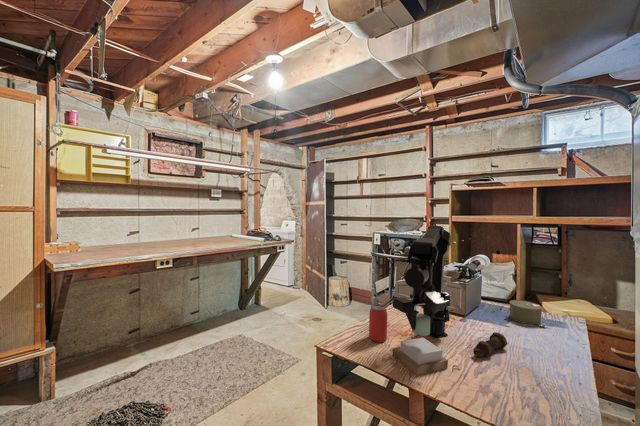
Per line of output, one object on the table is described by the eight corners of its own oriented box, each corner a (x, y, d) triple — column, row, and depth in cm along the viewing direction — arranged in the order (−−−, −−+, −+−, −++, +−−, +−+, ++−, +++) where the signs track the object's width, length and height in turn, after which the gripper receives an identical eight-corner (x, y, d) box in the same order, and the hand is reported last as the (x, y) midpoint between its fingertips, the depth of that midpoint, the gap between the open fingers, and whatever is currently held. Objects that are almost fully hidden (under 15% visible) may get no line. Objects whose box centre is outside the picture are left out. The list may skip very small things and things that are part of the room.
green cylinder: (421, 327, 97) (422, 312, 97) (433, 334, 92) (434, 318, 92) (408, 329, 95) (408, 314, 95) (419, 336, 90) (420, 320, 90)
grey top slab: (422, 346, 100) (423, 337, 99) (441, 359, 91) (442, 350, 91) (400, 350, 97) (400, 341, 96) (418, 364, 88) (418, 354, 88)
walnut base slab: (421, 351, 102) (421, 342, 102) (447, 369, 91) (447, 360, 91) (392, 357, 98) (392, 348, 98) (416, 377, 87) (416, 367, 86)
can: (504, 313, 139) (505, 298, 138) (532, 315, 136) (533, 301, 136) (516, 323, 127) (516, 307, 127) (547, 326, 124) (548, 310, 124)
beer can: (386, 343, 106) (387, 311, 105) (368, 341, 107) (369, 309, 106) (386, 335, 112) (387, 305, 112) (369, 333, 113) (369, 303, 113)
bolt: (474, 362, 98) (496, 349, 106) (488, 361, 94) (510, 347, 102) (466, 344, 100) (488, 332, 108) (479, 342, 96) (501, 330, 104)
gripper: (416, 290, 82) (414, 344, 83) (465, 284, 89) (463, 334, 90) (392, 280, 93) (390, 328, 93) (437, 275, 100) (436, 320, 100)
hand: (420, 328), depth 94 cm, fingers closed on green cylinder, 5 cm apart
